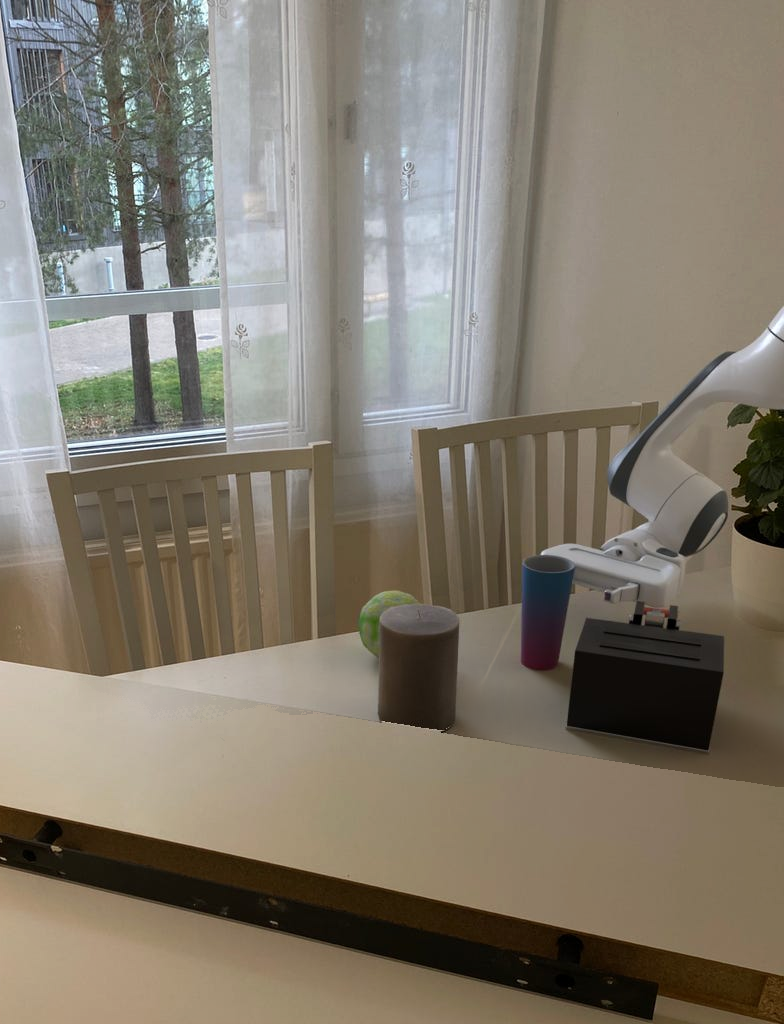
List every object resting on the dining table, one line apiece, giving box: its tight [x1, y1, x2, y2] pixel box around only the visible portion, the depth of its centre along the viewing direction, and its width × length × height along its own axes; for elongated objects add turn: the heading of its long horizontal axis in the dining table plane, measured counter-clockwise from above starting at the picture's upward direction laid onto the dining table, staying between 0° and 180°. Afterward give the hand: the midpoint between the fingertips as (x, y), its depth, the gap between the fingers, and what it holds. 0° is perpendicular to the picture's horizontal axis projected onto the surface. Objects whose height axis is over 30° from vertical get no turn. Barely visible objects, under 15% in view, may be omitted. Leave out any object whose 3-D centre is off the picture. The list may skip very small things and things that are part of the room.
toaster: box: [564, 617, 725, 756], centre depth 110 cm, size 16×10×11 cm, turn 67°
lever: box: [643, 606, 680, 628], centre depth 119 cm, size 12×6×2 cm, turn 157°
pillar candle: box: [377, 603, 460, 731], centre depth 112 cm, size 10×10×15 cm
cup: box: [520, 554, 575, 672], centre depth 124 cm, size 7×7×15 cm
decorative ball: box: [358, 590, 421, 658], centre depth 128 cm, size 10×10×10 cm
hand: (578, 588), depth 128 cm, fingers open, 8 cm apart
